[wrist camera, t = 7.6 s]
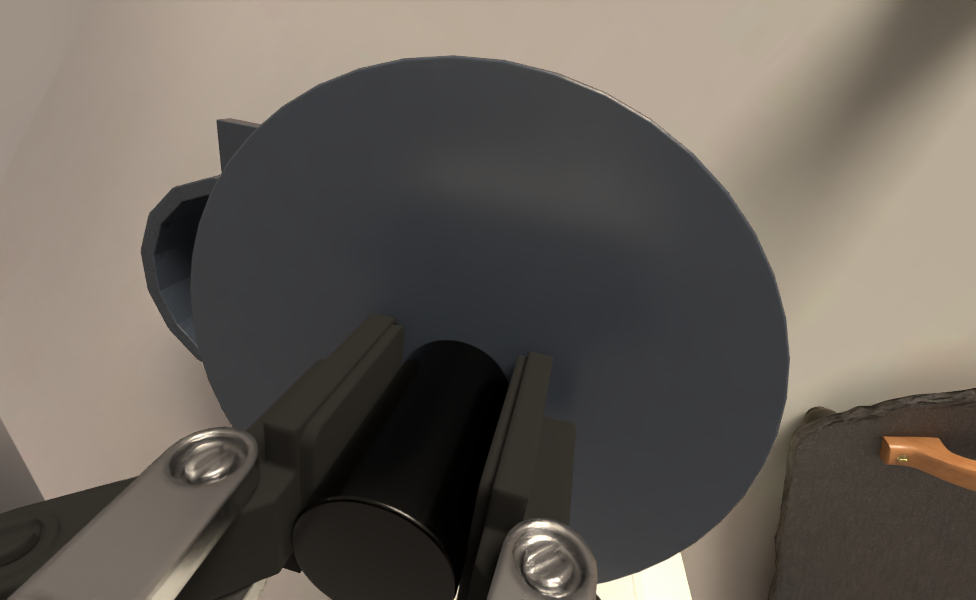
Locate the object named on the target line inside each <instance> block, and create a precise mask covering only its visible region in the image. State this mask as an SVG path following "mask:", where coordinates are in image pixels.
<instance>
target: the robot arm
mask: <svg viewBox="0 0 976 600" xmlns="http://www.w3.org/2000/svg"><path fill="white" fill-rule="evenodd" d="M404 337H405V328H404V327H403V326H399V325H398V320H397V318H393V317H389V316H385V315H381V314H377V313H372V314H370V315H369V316H368V317H367V318H366V319H365V320H364V321H363V322H362V324H361V325H360V326H359V327H358V328H357V329H356V330H355V331H354V332H353V333H352V334H351V335H350V336H349V337H348V338H347V339H346V340H345V341H344V342H343V343H342V344H341V345H340V346H339V347H338V348H337V349H336V350H335V351H334V352H333V353H332V354H331V355H330V356H329V357H328V358H327V359H324V358H323V359H319V360H318V361H317V362H315V363H314V364H313V365H312V366H311V367H310V368H309V369H308V370H307V371H306V372H305V373H304V374H303V375H302V376H301V377H300V378H299V379H298V380H297V381H296V382H295V383H294V384H293V385H292V386H291V387H290V388H289V389H288V390H287V391H286V392H285V393H284V394H283V395H282V396H281V397H280V398H278V399H277V400H276V401H275V402H274V403H273V404H272V405H271V406H270V407H269V408H268V409H267V410H266V411H265V412H264V413H263V414H262V415H261V416H260V417H259V418H258V419H257V420H256V421H255V422H254V423H253V424H252V425H251V426H250V427H249V428H248V429H247V430H246V431H243V430H240V429H238V428H230V427H217V428H208V429H205V430H201V431H198V432H194V433H192V434H190V435H188V436H186V437H184V438H182V439H180V440H179V441H177V442H176V443H175V444H173V445H172V446H171V447H169V448H168V449H167V450H166V451H165V452H164V453H163V454H162V455H161V456H160V457H158V458H157V459H156V460H155V461H154V462H153V463H152V464H151V465H150V466H149V467H148V468H147V469H146V470H145V471H143V472H142V473H141V474H140V475H139V476H136V477H132V478H129V479H125V480H121V481H117V482H114V483H110V484H106V485H102V486H99V487H95V488H91V489H87V490H84V491H80V492H76V493H72V494H69V495H65V496H61V497H57V498H54V499H50V500H46V501H42V502H39V503H35V504H31V505H28V506H24V507H20V508H17V509H14V510H10V511H8V512H5V513H2V514H0V600H257V599H258V597H259V596H260V594H261V592H262V591H263V589H264V586H265V584H266V581H267V579H268V577H271V576H273V575H275V574H278V573H279V572H280V571H281V569H282V568H285V569H288V570H291V571H295V572H298V573H301V571H302V569H301V568H300V566H299V564H298V563H297V560H296V558H295V556H294V553H293V550H292V545H291V530H292V526H293V522H294V520H295V518H296V516H297V515H298V513H299V512H300V510H301V509H302V507H303V506H304V505H305V503H306V502H307V500H308V499H309V497H310V496H311V495H312V493H313V492H314V490H315V489H316V487H317V486H318V485H319V483H320V482H321V480H322V479H323V477H324V476H325V475H326V473H327V472H328V470H329V469H330V467H331V466H332V465H333V463H334V462H335V460H336V459H337V458H338V456H339V455H340V453H341V452H342V450H343V449H344V448H345V446H346V445H347V443H348V442H349V440H350V439H351V438H352V436H353V435H354V433H355V432H356V430H357V429H358V428H359V426H360V425H361V423H362V422H363V420H364V419H365V418H366V416H367V415H368V413H369V412H370V410H371V409H372V408H373V406H374V405H375V403H376V402H377V400H378V399H379V398H380V396H381V395H382V393H383V392H384V390H385V389H386V388H387V386H388V385H389V383H390V382H391V380H392V379H393V378H394V376H395V375H396V373H397V372H398V371H399V369H400V368H401V366H402V360H403V348H404ZM552 363H553V357H552V356H548V355H544V354H540V353H536V352H532V351H529V355H528V357H525V356H521V355H518V359H517V362H516V365H515V368H514V372H513V375H512V378H511V382H510V385H509V388H508V391H507V395H506V398H505V401H504V405H503V408H502V411H501V414H500V418H499V421H498V424H497V428H496V431H495V434H494V438H493V441H492V444H491V447H490V451H489V454H488V457H487V461H486V464H485V467H484V470H483V474H482V478H481V481H480V485H479V490H478V494H477V499H476V504H475V509H474V514H473V519H472V524H471V529H470V534H469V539H468V555H467V559H466V562H465V566H464V569H463V573H462V577H461V580H460V584H459V589H458V594H457V599H456V600H601V599H600V598H599V596H598V595H597V594H596V590H597V578H598V575H597V564H596V560H595V558H594V555H593V553H592V550H591V548H590V547H589V546H588V544H587V543H586V542H585V540H584V539H583V538H582V536H580V535H579V534H578V533H577V532H575V531H574V530H573V529H572V528H571V527H569V520H570V506H571V493H572V479H573V466H574V452H575V438H576V424H573V423H569V422H565V421H561V420H558V419H554V418H550V417H546V416H543V415H544V409H545V403H546V398H547V392H548V386H549V381H550V375H551V369H552Z"/></svg>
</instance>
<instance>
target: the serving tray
mask: <svg viewBox="0 0 976 600" xmlns="http://www.w3.org/2000/svg"><path fill="white" fill-rule="evenodd" d="M775 548H776V574H775V576H774V579H773V582H772V585H771V587H770V591H769V600H976V388H973V389H968V390H962V391H954V392H945V393H932V394H919V395H912V396H907V397H902V398H897V399H892V400H887V401H883V402H881V403H878V404H875V405H872V406H857V407H855V408H853V409H850V410H848V411H846V412H843V413H836V412H834V411H832V410H830V409H826V408H824V407H814V408H811V409H810V410H808V412H807V413H806V417H805V420H804V425H803V426H801V427H799V428H798V429H797V430H796V431H795V432H794V433H793V436H792V439H791V442H790V445H789V451H788V458H787V466H786V477H785V483H784V492H783V499H782V505H781V515H780V521H779V525H778V531H777V533H776V536H775Z"/></svg>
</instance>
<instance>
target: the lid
mask: <svg viewBox="0 0 976 600" xmlns="http://www.w3.org/2000/svg"><path fill="white" fill-rule="evenodd" d="M190 293H191V306H192V319H193V325H194V329H195V334H196V339H197V344H198V349H199V353H200V356H201V359H202V362H203V365H204V368H205V371H206V374H207V377H208V380H209V382H210V384H211V386H212V388H213V391H214V393H215V395H216V397H217V399H218V402H219V404H220V406H221V408H222V410H223V411H224V413H225V415H226V416H227V418H228V420H229V422H230V423H231V425H232V427H233V428H238V429H240V430H243V431H246V430H247V429H248V428H249V427H250V426H251V425H252V424H253V423H254V422H255V421H256V420H257V419H258V418H259V417H260V416H261V415H262V414H263V413H264V412H265V411H266V410H267V409H268V408H269V407H270V406H271V405H272V404H273V403H274V402H275V401H276V400H277V399H278V398H280V397H281V396H282V395H283V394H284V393H285V392H286V391H287V390H288V389H289V388H290V387H291V386H292V385H293V384H294V383H295V382H296V381H297V380H298V379H299V378H300V377H301V376H302V375H303V374H304V373H305V372H306V371H307V370H308V369H309V368H310V367H311V366H312V365H313V364H314V363H315V362H317V361H318V360H319V359H323V358H324V359H327V358H328V357H329V356H330V355H331V354H332V353H333V352H334V351H335V350H336V349H337V348H338V347H339V346H340V345H341V344H342V343H343V342H344V341H345V340H346V339H347V338H348V337H349V336H350V335H351V334H352V333H353V332H354V331H355V330H356V329H357V328H358V327H359V326H360V325H361V324H362V322H363V321H364V320H365V319H366V318H367V317H368V316H369V315H370V314H372V313H377V314H381V315H385V316H389V317H393V318H397V320H398V325H399V326H403V327H404V328H405V337H404V348H403V360H402V366H401V368H400V369H399V371H398V372H397V373H396V375H395V376H394V378H393V379H392V380H391V382H390V383H389V385H388V386H387V388H386V389H385V390H384V392H383V393H382V395H381V396H380V398H379V399H378V400H377V402H376V403H375V405H374V406H373V408H372V409H371V410H370V412H369V413H368V415H367V416H366V418H365V419H364V420H363V422H362V423H361V425H360V426H359V428H358V429H357V430H356V432H355V433H354V435H353V436H352V438H351V439H350V440H349V442H348V443H347V445H346V446H345V448H344V449H343V450H342V452H341V453H340V455H339V456H338V458H337V459H336V460H335V462H334V463H333V465H332V466H331V467H330V469H329V470H328V472H327V473H326V475H325V476H324V477H323V479H322V480H321V482H320V483H319V485H318V486H317V487H316V489H315V490H314V492H313V493H312V495H311V496H310V497H309V499H308V500H307V502H306V503H305V505H304V506H303V507H302V509H301V510H300V512H299V513H298V515H297V516H296V518H295V520H294V522H293V526H292V530H291V545H292V550H293V553H294V556H295V558H296V560H297V563H298V564H299V566H300V568H301V569H302V571H303V572H304V573H305V575H306V576H307V577H308V579H309V580H310V581H311V582H312V583H313V584H314V585H315V586H316V587H317V588H318V589H319V590H320V591H322V592H323V593H324V594H325V595H327V596H328V597H329V598H331V599H332V600H454V599H455V597H456V594H457V591H458V587H459V584H460V580H461V577H462V573H463V569H464V566H465V562H466V559H467V555H468V539H469V534H470V529H471V524H472V519H473V514H474V509H475V504H476V499H477V494H478V490H479V485H480V481H481V478H482V474H483V470H484V467H485V464H486V461H487V457H488V454H489V451H490V447H491V444H492V441H493V438H494V434H495V431H496V428H497V424H498V421H499V418H500V414H501V411H502V408H503V405H504V401H505V398H506V395H507V391H508V388H509V385H510V382H511V378H512V375H513V372H514V368H515V365H516V362H517V359H518V355H521V356H525V357H528V355H529V351H532V352H536V353H540V354H544V355H548V356H552V357H553V363H552V369H551V375H550V381H549V386H548V392H547V398H546V403H545V409H544V415H543V416H546V417H550V418H554V419H558V420H561V421H565V422H569V423H573V424H576V438H575V452H574V466H573V479H572V493H571V506H570V520H569V527H571V528H572V529H573V530H574V531H575V532H577V533H578V534H579V535H580V536H582V538H583V539H584V540H585V542H586V543H587V544H588V546H589V547H590V548H591V550H592V553H593V555H594V558H595V560H596V564H597V575H598V578H597V584H601V583H606V582H610V581H614V580H617V579H620V578H623V577H626V576H629V575H632V574H636V573H639V572H641V571H643V570H646V569H648V568H650V567H652V566H654V565H657V564H659V563H661V562H663V561H665V560H668V559H669V558H671V557H673V556H674V555H676V554H678V553H679V552H681V551H682V550H684V549H686V548H687V547H689V546H691V545H692V544H694V543H695V542H697V541H698V540H699V539H700V538H702V537H703V536H704V535H705V534H707V533H708V532H709V531H710V530H711V529H713V528H714V527H715V526H716V525H718V524H719V523H720V522H721V521H722V520H723V519H724V518H725V517H726V516H727V515H728V513H729V512H730V511H731V510H732V509H733V508H734V507H735V506H736V505H737V504H738V502H739V501H740V500H741V499H742V498H743V497H744V495H745V494H746V492H747V491H748V489H749V488H750V486H751V485H752V483H753V482H754V480H755V479H756V477H757V476H758V474H759V473H760V471H761V470H762V468H763V466H764V464H765V462H766V459H767V457H768V455H769V453H770V450H771V448H772V446H773V444H774V442H775V439H776V437H777V434H778V430H779V426H780V423H781V419H782V415H783V411H784V407H785V403H786V399H787V388H788V376H789V363H790V356H789V345H788V334H787V323H786V316H785V312H784V308H783V305H782V301H781V297H780V293H779V290H778V286H777V282H776V278H775V275H774V273H773V271H772V268H771V266H770V264H769V262H768V259H767V257H766V255H765V253H764V251H763V248H762V246H761V244H760V242H759V240H758V237H757V235H756V233H755V231H754V230H753V228H752V227H751V225H750V224H749V222H748V221H747V219H746V218H745V216H744V215H743V213H742V212H741V210H740V209H739V207H738V206H737V204H736V203H735V201H734V200H733V198H732V197H731V195H730V194H729V192H728V191H727V190H726V189H725V188H724V187H723V185H722V184H721V183H720V182H719V181H718V180H717V179H716V178H715V177H714V176H713V175H712V173H711V172H710V171H709V170H708V169H707V168H706V167H705V166H704V165H703V164H702V162H701V161H700V160H699V159H698V158H697V157H696V156H695V155H694V154H693V153H692V152H691V151H689V150H688V149H687V148H686V147H685V146H683V145H682V144H681V143H680V142H678V141H677V140H676V139H675V138H673V137H672V136H671V135H670V134H669V133H667V132H666V131H665V130H664V129H662V128H661V127H660V126H659V125H657V124H656V123H655V122H654V121H652V120H651V119H650V118H648V117H646V116H645V115H643V114H641V113H639V112H638V111H636V110H634V109H633V108H631V107H629V106H628V105H626V104H624V103H623V102H621V101H619V100H617V99H616V98H614V97H612V96H611V95H609V94H607V93H605V92H603V91H601V90H598V89H596V88H593V87H591V86H588V85H586V84H583V83H581V82H579V81H576V80H574V79H571V78H569V77H566V76H564V75H561V74H559V73H555V72H551V71H547V70H543V69H539V68H535V67H531V66H527V65H523V64H519V63H515V62H511V61H506V60H498V59H487V58H476V57H465V56H454V55H453V56H436V57H420V58H404V59H400V60H395V61H391V62H386V63H381V64H377V65H372V66H368V67H363V68H359V69H356V70H354V71H351V72H349V73H346V74H344V75H341V76H339V77H336V78H334V79H331V80H329V81H326V82H324V83H321V84H319V85H317V86H315V87H313V88H312V89H310V90H308V91H307V92H305V93H303V94H302V95H300V96H299V97H297V98H295V99H294V100H292V101H290V102H289V103H287V104H285V105H284V106H282V107H281V108H280V109H279V110H278V111H276V112H275V113H274V114H273V115H272V116H271V117H269V118H268V119H267V120H266V121H265V122H264V123H262V124H261V125H260V126H259V127H258V128H257V129H256V130H254V131H253V132H252V133H251V135H250V136H249V137H248V138H247V140H246V141H245V142H244V143H243V144H242V146H241V147H240V148H239V149H238V150H237V152H236V153H235V154H234V155H233V157H232V158H231V159H230V160H229V161H228V163H227V165H226V167H225V168H224V170H223V172H222V174H221V175H220V177H219V179H218V181H217V182H216V184H215V186H214V187H213V189H212V191H211V193H210V196H209V198H208V201H207V204H206V206H205V209H204V212H203V214H202V217H201V220H200V222H199V226H198V230H197V235H196V240H195V245H194V250H193V254H192V266H191V283H190Z"/></svg>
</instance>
